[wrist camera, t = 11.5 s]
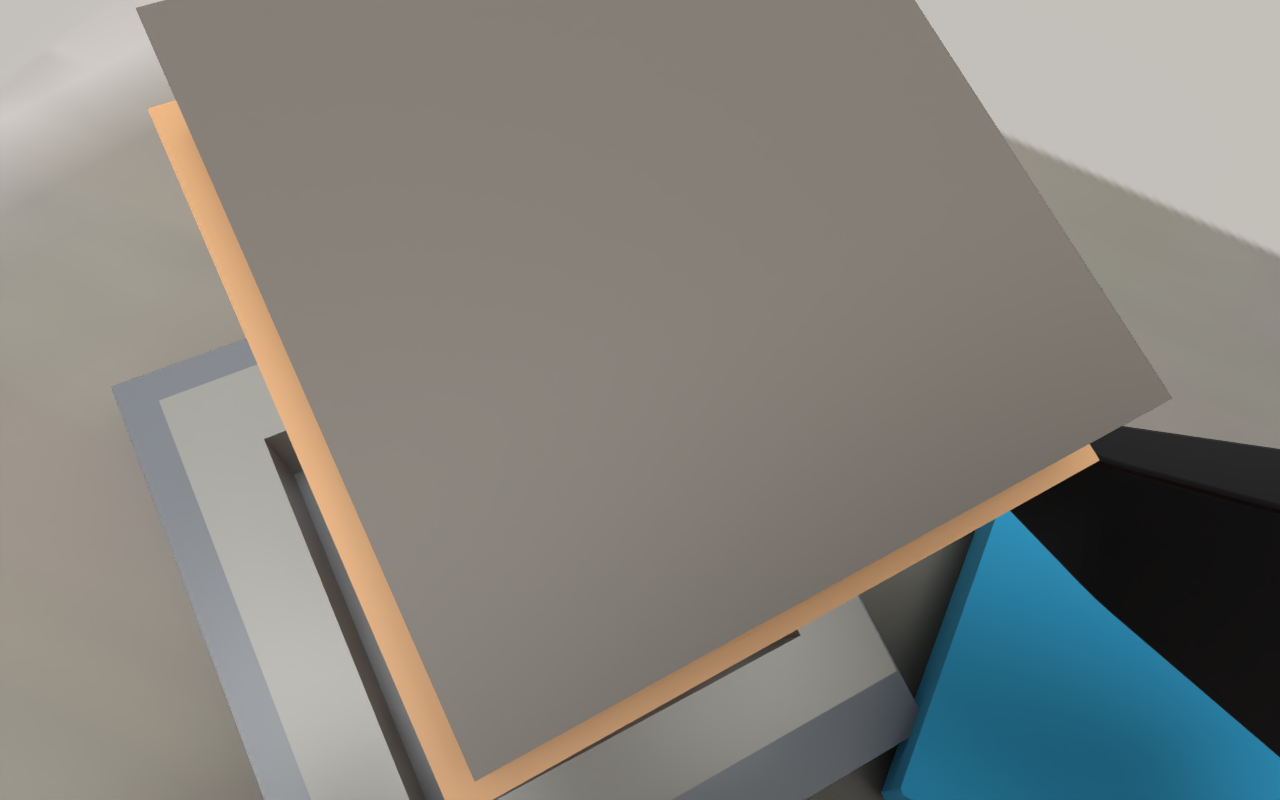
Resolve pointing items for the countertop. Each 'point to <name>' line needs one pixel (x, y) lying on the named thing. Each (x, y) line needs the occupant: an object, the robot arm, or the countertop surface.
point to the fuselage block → (628, 327)
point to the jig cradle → (359, 677)
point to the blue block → (1061, 698)
